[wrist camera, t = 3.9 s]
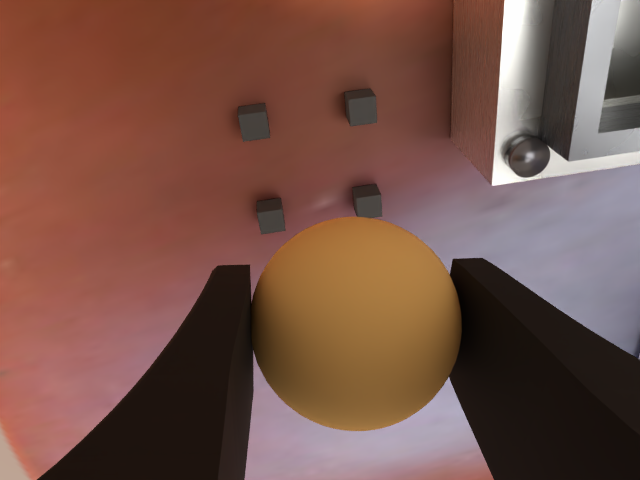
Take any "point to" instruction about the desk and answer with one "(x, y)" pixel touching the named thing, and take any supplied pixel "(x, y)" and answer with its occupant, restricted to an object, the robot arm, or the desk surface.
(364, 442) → the desk surface
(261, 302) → the ball
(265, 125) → the cradle
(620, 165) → the silver open square box
